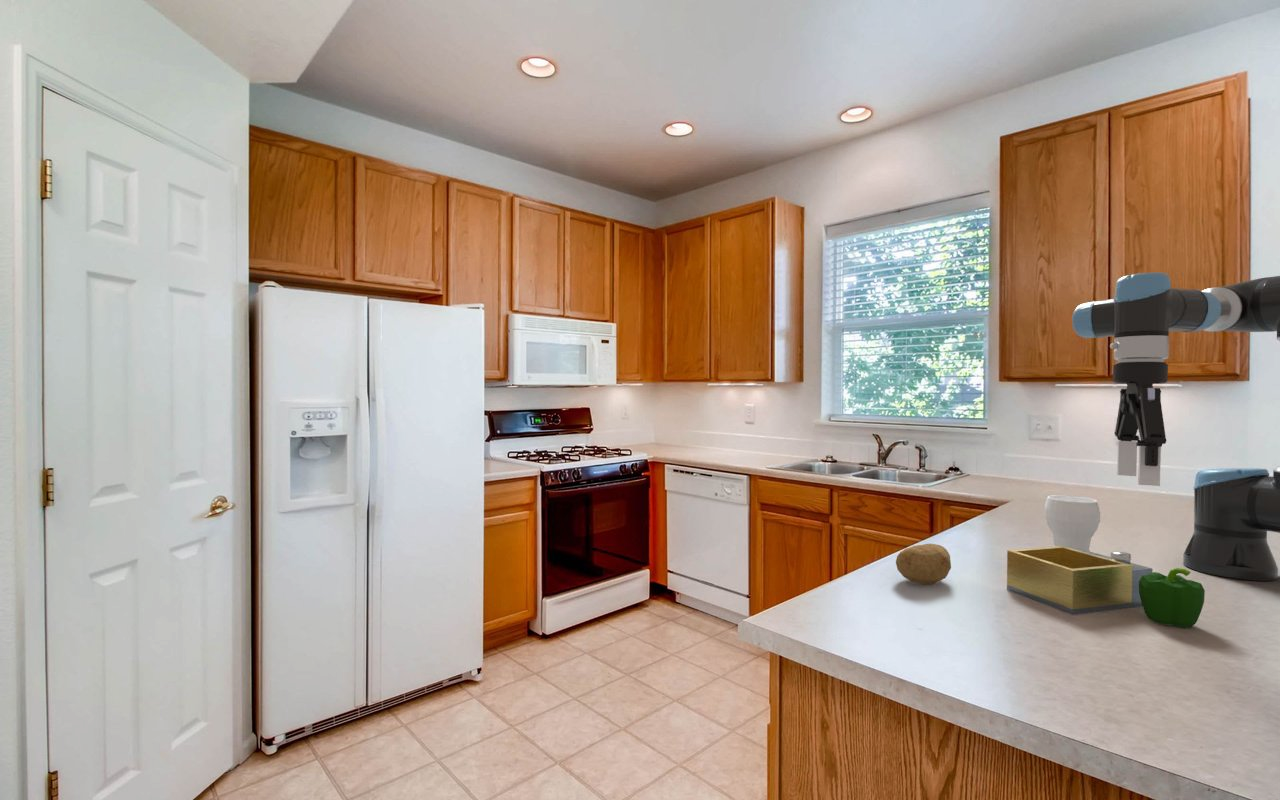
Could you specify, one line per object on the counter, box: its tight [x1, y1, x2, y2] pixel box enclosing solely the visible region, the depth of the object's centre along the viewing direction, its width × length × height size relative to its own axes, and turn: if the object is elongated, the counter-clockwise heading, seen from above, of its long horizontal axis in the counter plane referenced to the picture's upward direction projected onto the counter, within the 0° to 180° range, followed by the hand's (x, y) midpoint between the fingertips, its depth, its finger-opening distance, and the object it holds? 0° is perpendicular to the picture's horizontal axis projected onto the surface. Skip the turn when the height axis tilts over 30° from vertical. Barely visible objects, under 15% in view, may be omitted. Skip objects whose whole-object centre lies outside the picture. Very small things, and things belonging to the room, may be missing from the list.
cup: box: [1044, 494, 1101, 552], centre depth 140 cm, size 11×11×15 cm
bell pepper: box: [1139, 567, 1206, 628], centre depth 104 cm, size 8×8×10 cm
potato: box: [895, 543, 952, 586], centre depth 125 cm, size 10×14×8 cm
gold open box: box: [1006, 546, 1153, 615], centre depth 116 cm, size 19×14×9 cm
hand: (1137, 480), depth 106 cm, fingers open, 13 cm apart
